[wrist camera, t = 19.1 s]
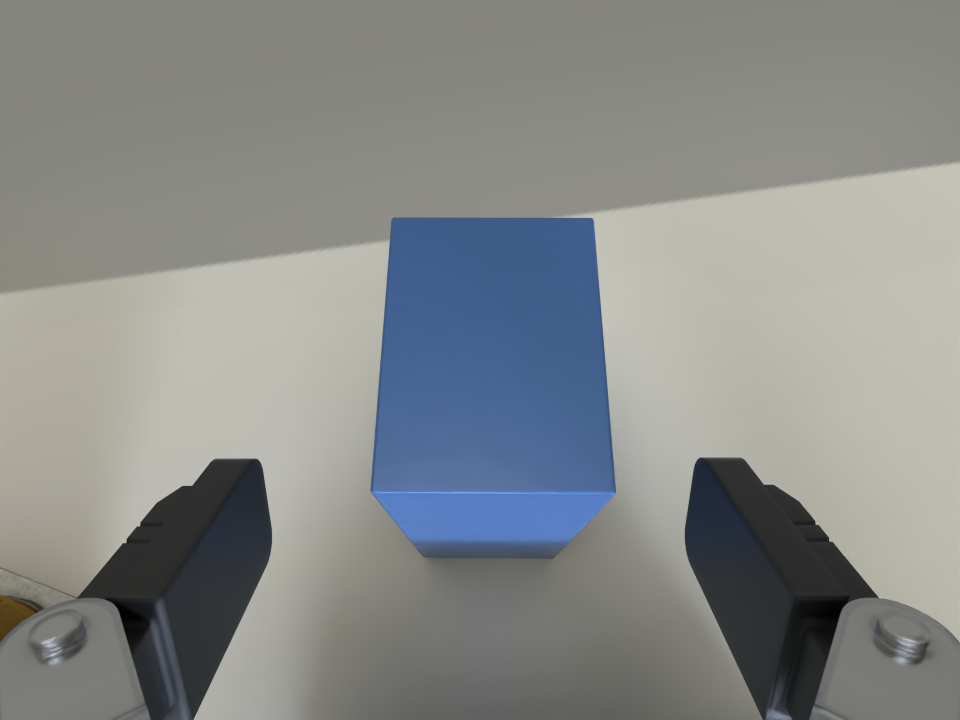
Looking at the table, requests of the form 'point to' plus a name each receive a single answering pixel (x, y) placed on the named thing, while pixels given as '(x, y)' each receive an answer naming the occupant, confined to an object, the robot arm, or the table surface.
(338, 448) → the table surface
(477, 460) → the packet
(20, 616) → the condiment
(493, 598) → the table surface
